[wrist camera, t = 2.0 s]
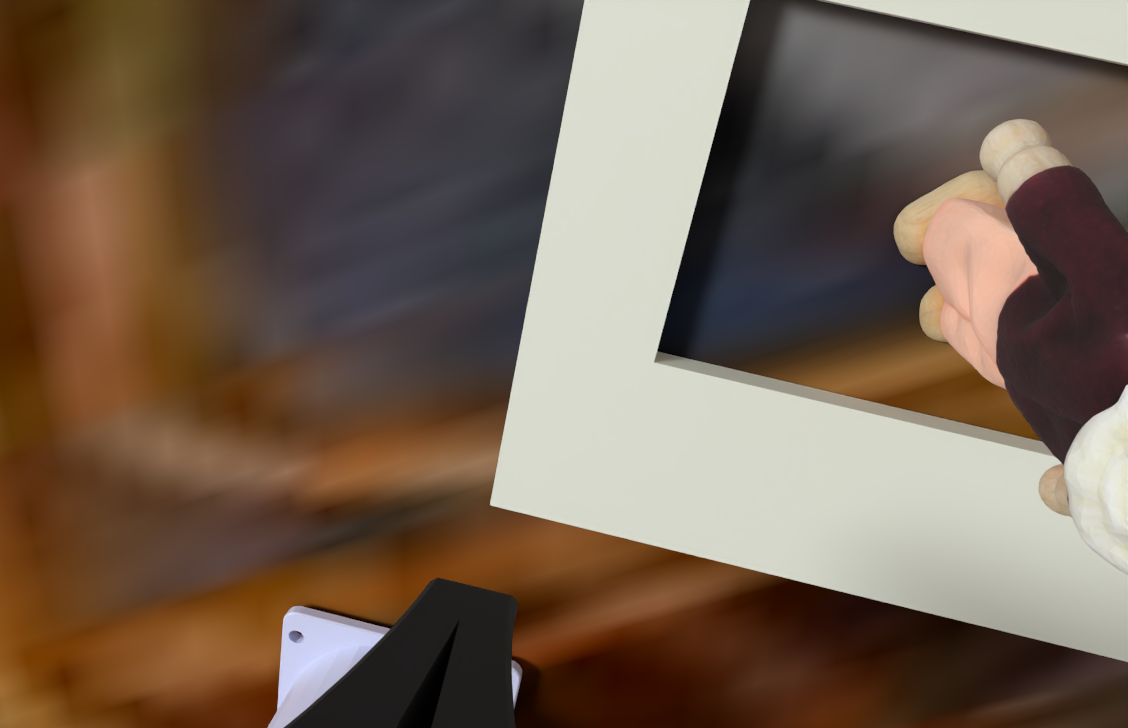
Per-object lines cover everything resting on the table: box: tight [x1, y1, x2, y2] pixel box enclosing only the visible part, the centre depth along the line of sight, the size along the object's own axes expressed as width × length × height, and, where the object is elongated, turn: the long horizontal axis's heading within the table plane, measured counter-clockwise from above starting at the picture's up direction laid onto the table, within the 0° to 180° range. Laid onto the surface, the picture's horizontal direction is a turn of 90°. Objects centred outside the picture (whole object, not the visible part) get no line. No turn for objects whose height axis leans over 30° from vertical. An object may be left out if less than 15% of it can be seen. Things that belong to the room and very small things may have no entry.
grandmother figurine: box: [894, 119, 1128, 575], centre depth 14 cm, size 8×4×13 cm, turn 32°
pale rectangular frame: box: [490, 0, 1128, 662], centre depth 20 cm, size 18×20×1 cm
